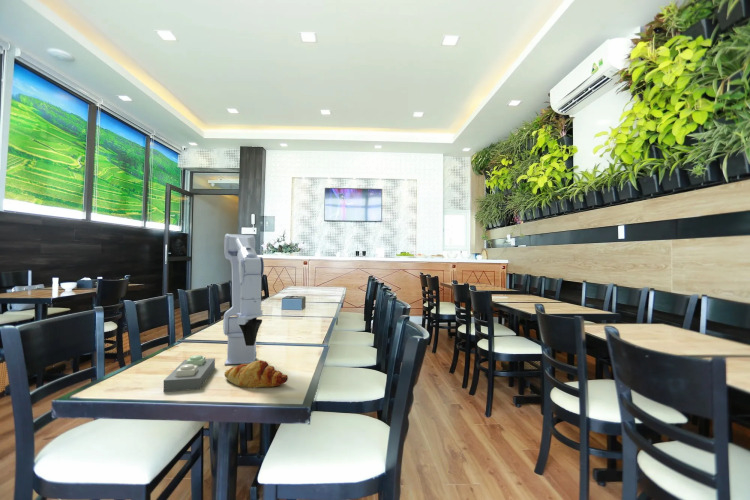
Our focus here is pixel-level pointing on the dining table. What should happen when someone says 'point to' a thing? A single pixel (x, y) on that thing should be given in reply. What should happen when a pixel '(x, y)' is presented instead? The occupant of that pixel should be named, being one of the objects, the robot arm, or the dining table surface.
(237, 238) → the robot arm
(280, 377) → the croissant
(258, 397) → the dining table surface
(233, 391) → the dining table surface
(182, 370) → the button
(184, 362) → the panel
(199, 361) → the button
